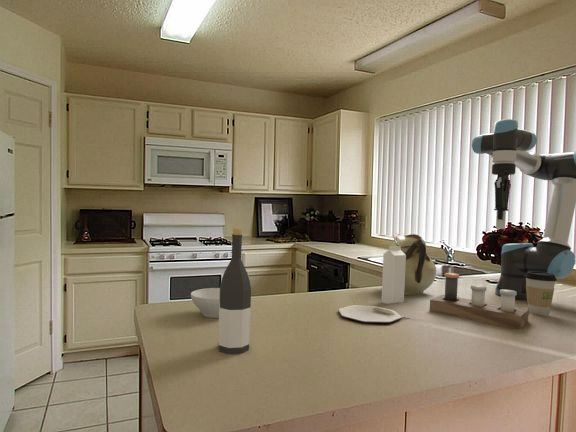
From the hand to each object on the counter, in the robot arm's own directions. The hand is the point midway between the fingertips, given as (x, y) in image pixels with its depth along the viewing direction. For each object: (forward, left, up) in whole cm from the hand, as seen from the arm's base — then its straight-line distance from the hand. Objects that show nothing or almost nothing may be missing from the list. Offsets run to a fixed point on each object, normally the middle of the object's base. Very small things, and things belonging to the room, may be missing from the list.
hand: (500, 228), depth 147 cm
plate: (+41, -29, -31) cm, 59 cm away
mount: (+16, -2, -30) cm, 34 cm away
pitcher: (-6, -36, -31) cm, 48 cm away
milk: (+18, -32, -31) cm, 48 cm away
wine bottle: (+94, -37, -31) cm, 106 cm away
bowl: (+78, -64, -31) cm, 105 cm away
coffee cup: (-8, +12, -31) cm, 34 cm away
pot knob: (+16, -11, -25) cm, 32 cm away
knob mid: (+16, -2, -28) cm, 33 cm away
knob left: (+16, +7, -28) cm, 33 cm away
